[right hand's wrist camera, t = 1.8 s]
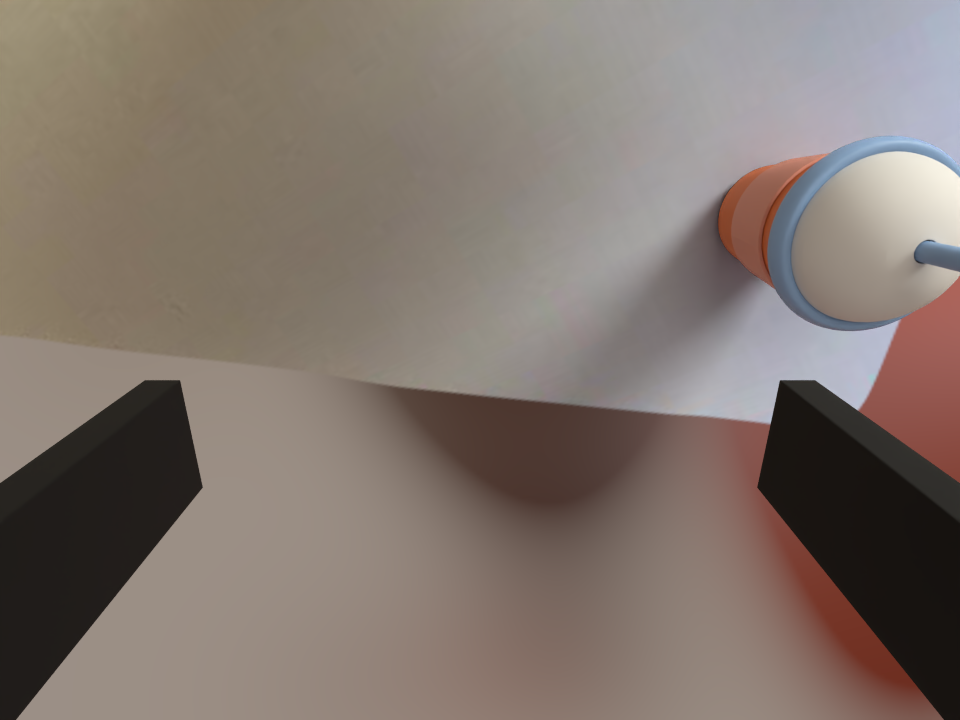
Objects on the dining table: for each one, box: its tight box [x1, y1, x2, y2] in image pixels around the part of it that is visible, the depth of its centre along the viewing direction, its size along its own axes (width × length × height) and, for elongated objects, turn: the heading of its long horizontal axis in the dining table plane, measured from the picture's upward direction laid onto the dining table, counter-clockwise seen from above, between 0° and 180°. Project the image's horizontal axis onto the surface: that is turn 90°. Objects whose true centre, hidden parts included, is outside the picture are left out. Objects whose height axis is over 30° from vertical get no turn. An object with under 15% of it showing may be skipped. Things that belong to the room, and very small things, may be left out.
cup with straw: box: [718, 136, 960, 331], centre depth 28 cm, size 9×9×18 cm
